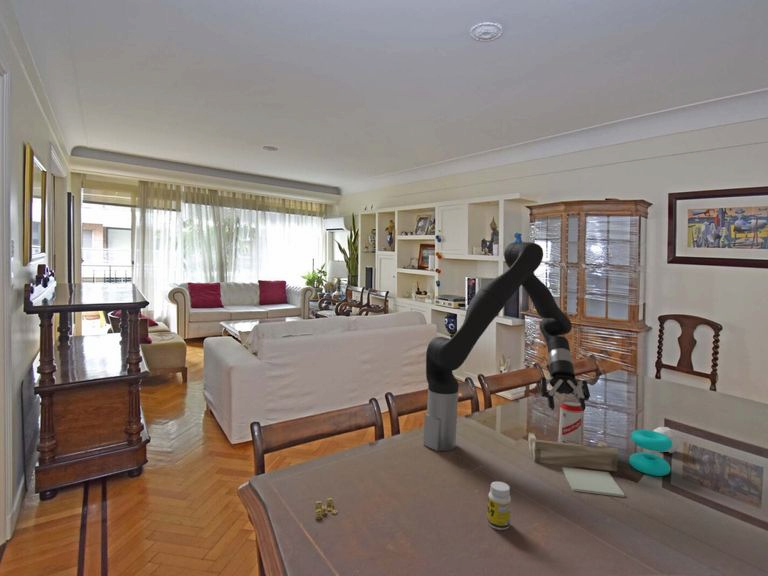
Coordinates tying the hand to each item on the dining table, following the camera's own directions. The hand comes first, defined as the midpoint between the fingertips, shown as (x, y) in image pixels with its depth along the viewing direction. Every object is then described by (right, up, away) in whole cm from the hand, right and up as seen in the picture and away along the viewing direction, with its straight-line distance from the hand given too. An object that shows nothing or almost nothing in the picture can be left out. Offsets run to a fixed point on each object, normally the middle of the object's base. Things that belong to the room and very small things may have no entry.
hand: (567, 410), depth 133 cm
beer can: (-1, -13, -4) cm, 13 cm away
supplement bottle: (-32, -13, -40) cm, 53 cm away
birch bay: (-1, -13, -5) cm, 14 cm away
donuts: (+19, -14, -11) cm, 26 cm away
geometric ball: (+31, -14, +2) cm, 34 cm away
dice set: (-70, -12, -38) cm, 80 cm away
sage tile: (-2, -13, -20) cm, 24 cm away
